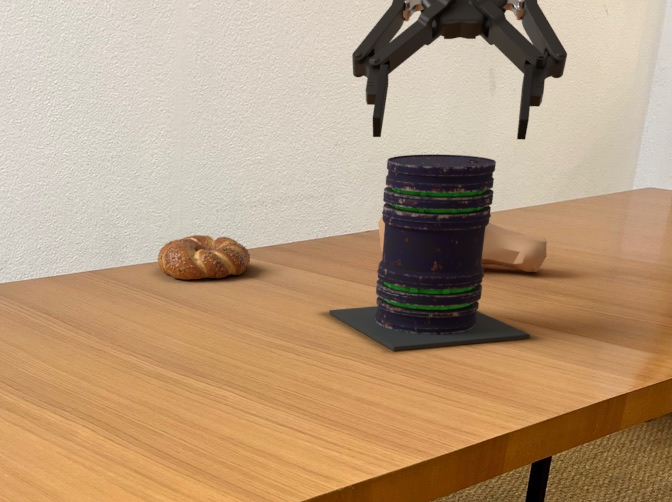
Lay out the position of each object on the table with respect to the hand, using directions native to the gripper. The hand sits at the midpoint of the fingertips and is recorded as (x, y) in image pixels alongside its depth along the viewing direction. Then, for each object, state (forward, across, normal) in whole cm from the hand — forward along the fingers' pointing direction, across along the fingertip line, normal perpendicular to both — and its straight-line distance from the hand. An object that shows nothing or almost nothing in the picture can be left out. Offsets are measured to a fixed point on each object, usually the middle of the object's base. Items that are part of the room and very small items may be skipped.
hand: (448, 129), depth 101 cm
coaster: (+17, 0, -8) cm, 19 cm away
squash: (-3, -2, -28) cm, 28 cm away
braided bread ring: (+4, +27, -21) cm, 34 cm away
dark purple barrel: (+17, 0, -8) cm, 18 cm away
